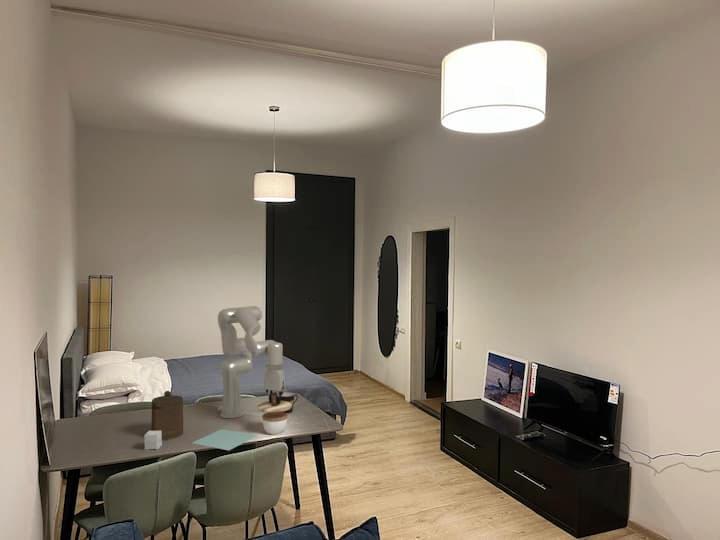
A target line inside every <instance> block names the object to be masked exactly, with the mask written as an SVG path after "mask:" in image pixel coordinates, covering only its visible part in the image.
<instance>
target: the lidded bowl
mask: <svg viewBox="0 0 720 540" xmlns="http://www.w3.org/2000/svg"><path fill="white" fill-rule="evenodd" d="M261 418H262V425H263V429H264V431H265V432H266V433H267V434H268V435H272V436H275V435H276V436H277V435H281V434H282V433H283V432H285V430H286V428H287V425H288V413H284V412H277V413H268V412H264V413H263V414H262V417H261Z"/></svg>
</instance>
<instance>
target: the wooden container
mask: <svg viewBox="0 0 720 540" xmlns="http://www.w3.org/2000/svg"><path fill="white" fill-rule="evenodd" d="M183 404H184V397H183V396H181V395H177V394H176V395H175V394H174V395H172V391H170V390H166V391H164V393H163V395H161V396H160V395H159V396H157V397H154V398H153V399H152V400H151V431H162V441H167V440H166V439H170V440H172V439H177V438H179V437H181V436H183V435H184V405H183Z"/></svg>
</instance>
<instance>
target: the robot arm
mask: <svg viewBox="0 0 720 540" xmlns="http://www.w3.org/2000/svg"><path fill="white" fill-rule="evenodd" d="M262 318H263V311H262V310H261V308H260V307H258V306H256V305H253V306H252V305H251V306H241V307H229V308H224V309H221V310H220V311H219V312H218V315H217V324H218V327H219V329H220V331H219V332H220V335H221V337H220V338H221V348H222V353H223V355H224V356H225V357H233V358H228V359H226V360H224V361H223V362H222V363H221V365H220V366H221V369H220V371H221V375H222V405H219V406H218V408H217V409H218V411H221V412H220V414H219V416H220V417H221V418H224V419H237V418H239V417H240V418H241V417H242V416H244V411H243V410H241V409H242V408H241V407H242V406H241V404H242V401H241V397H242V396H241V395H242V394H241V393H242V392H241V390H242V389H241V387H242V386H241V381H240V380H239V378H238V377H237V376H240V375H245V374H246V375H247V374H249V373H250V372H252V369H253V357H256V358H257V357H264V356H267V363H266V364H265V367H266V369H265V373H264V381H263V387H262V389H263V390H264V391H265V392H266V393H267V396H268V401H269V404H271V393H274V392H276V393H277V397H276V405H278V404H280V403H281V396H282V394H283V393H287V392H288V389H287V387H286V376H285V371H284V369H283V367H284V365H283V357H284V355H283V350H284V349H283V347H284V346H283V343H281V342H278V341H275V340H273V339H266V340H259V341H256V340H255V338H253V337H254V336H255V335H257V334H258V333H259V332H260V330H261V324H260V322H259V321H261V319H262ZM237 323H238V324H239V325H240V326H241V327H242V329H243V331H244V332H245V335H244V337H238V334H237V333H238V332H237V329H236V326H234V325H233V324H237ZM236 356H239V357H236ZM234 357H235V358H234Z"/></svg>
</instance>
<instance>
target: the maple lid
mask: <svg viewBox="0 0 720 540" xmlns="http://www.w3.org/2000/svg"><path fill="white" fill-rule="evenodd" d="M276 397H277V392H273V393H271V404H269V400H267V401H266V400H265V401H262V402H259V404H257V410H258V411H260V412H262V413H277V412H284V411H287V410H290V409H291V408H292V404H291V403H290V402H287V401H281V403H280V404H278V405H276Z"/></svg>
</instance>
